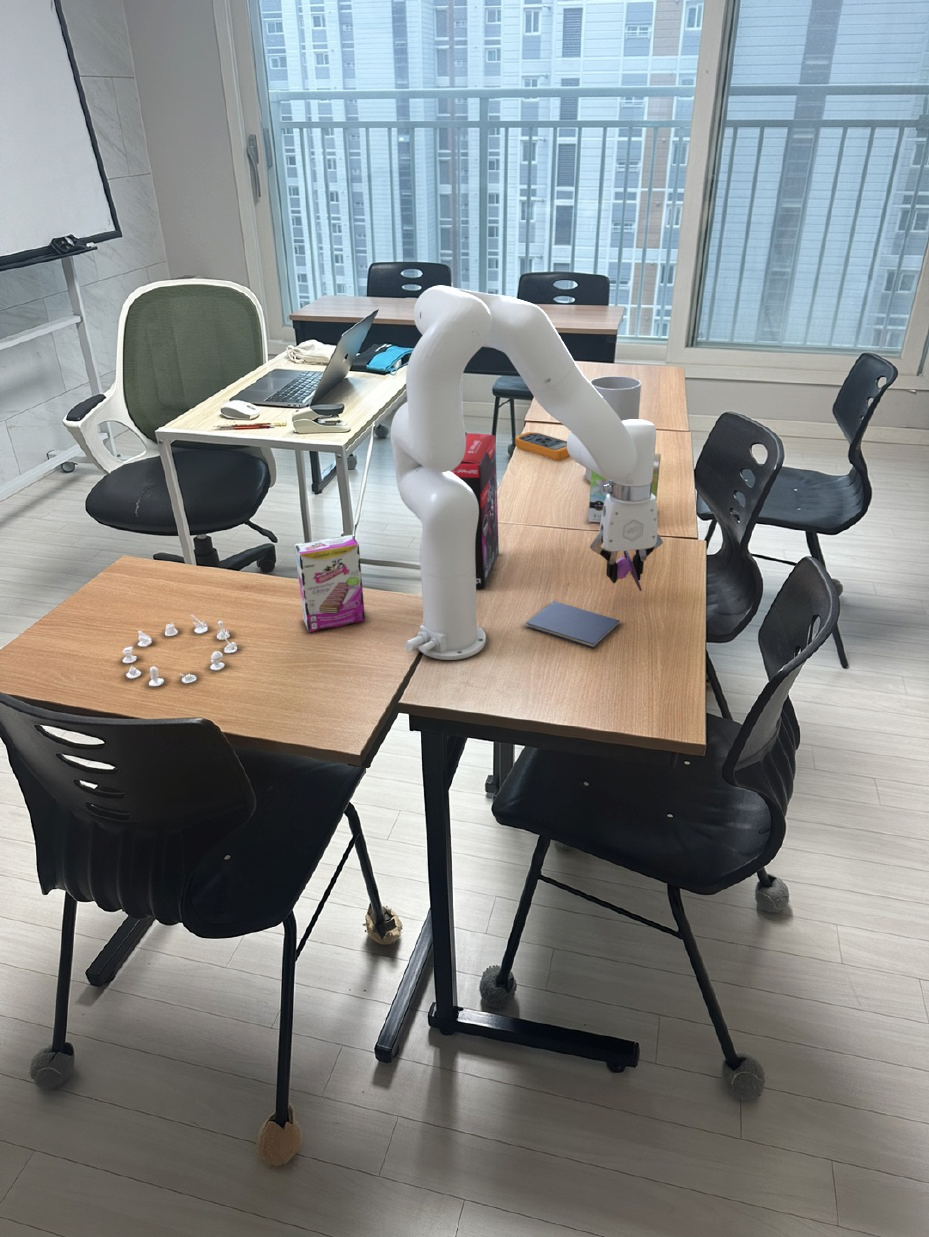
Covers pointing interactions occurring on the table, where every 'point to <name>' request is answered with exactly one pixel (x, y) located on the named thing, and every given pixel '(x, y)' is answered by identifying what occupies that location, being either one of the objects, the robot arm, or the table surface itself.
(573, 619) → the notebook
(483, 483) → the graphics card box
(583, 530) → the table surface
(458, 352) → the robot arm
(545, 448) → the multimeter
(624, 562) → the purple toy package
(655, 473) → the tea box
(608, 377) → the cylinder vase
